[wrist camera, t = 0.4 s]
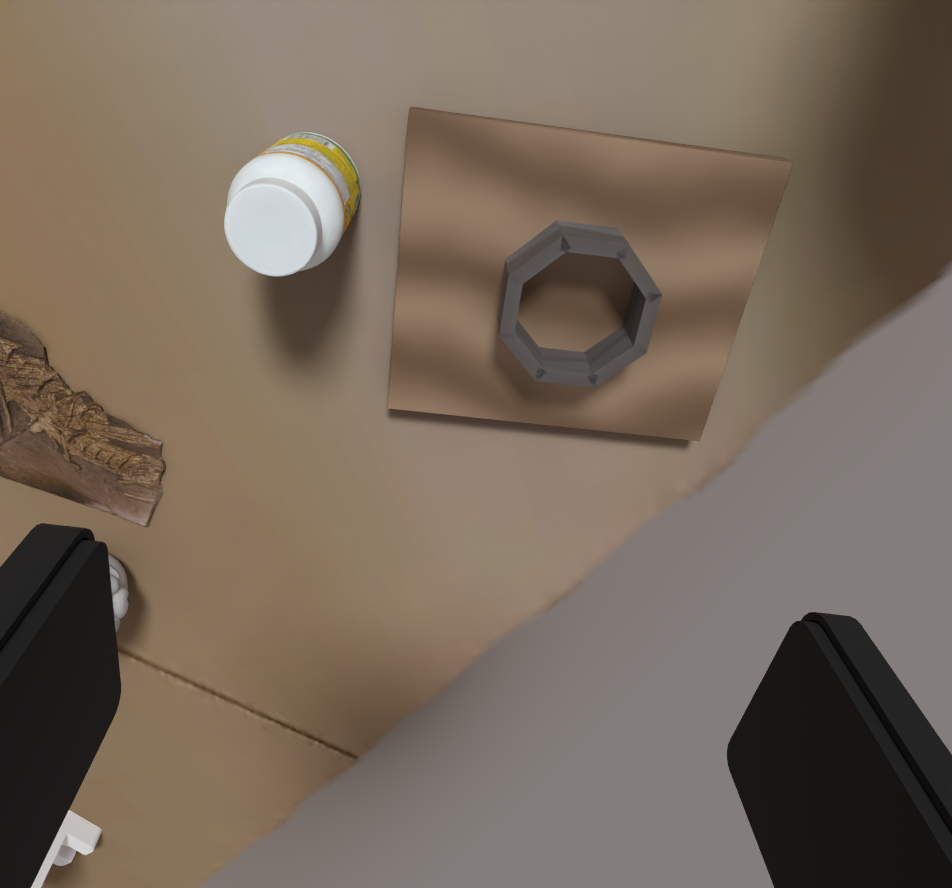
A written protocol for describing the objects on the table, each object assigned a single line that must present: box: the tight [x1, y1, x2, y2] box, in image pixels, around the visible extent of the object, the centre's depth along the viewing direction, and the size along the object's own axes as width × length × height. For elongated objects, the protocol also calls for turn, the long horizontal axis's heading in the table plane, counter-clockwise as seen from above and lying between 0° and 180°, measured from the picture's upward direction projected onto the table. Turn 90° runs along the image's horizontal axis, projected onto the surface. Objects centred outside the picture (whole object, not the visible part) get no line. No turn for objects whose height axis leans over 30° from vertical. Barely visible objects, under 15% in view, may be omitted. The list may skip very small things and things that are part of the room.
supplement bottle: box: [224, 132, 361, 277], centre depth 35 cm, size 5×5×10 cm
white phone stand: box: [31, 810, 102, 888], centre depth 65 cm, size 5×10×10 cm, turn 34°
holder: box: [388, 107, 793, 441], centre depth 40 cm, size 17×20×4 cm
